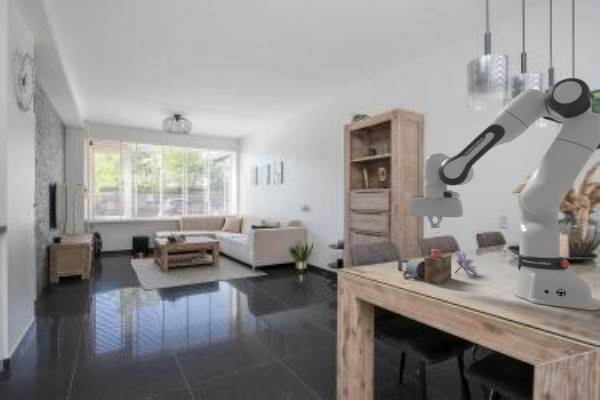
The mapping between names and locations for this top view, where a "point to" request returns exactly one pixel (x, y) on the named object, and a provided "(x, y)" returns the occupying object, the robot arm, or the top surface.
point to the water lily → (465, 264)
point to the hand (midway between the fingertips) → (435, 227)
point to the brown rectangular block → (437, 269)
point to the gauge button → (435, 253)
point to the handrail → (401, 263)
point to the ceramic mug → (415, 269)
